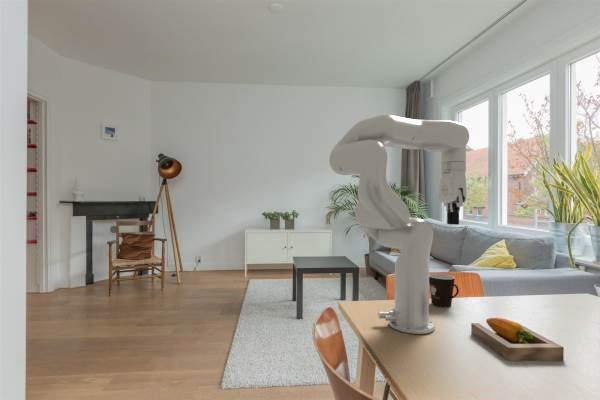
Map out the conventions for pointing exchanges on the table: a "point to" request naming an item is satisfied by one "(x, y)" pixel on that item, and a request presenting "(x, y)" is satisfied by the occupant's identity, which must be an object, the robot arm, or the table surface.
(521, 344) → the rest
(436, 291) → the coffee mug
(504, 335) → the carrot
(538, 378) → the table surface
